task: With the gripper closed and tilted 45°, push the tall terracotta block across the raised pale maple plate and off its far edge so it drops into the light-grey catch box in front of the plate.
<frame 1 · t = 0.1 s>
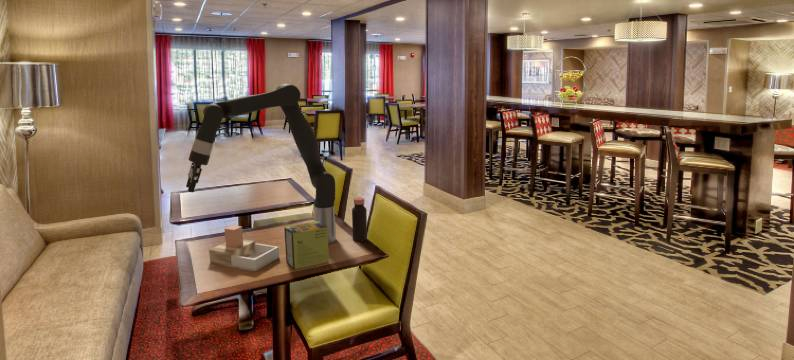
hand: (189, 189, 204), 31 cm above the table, tool tilted 20°, fingers open, 8 cm apart
catch box: (256, 262, 211), on the table
protein box: (307, 262, 212), on the table
bottle: (359, 239, 239), on the table
far plate: (233, 258, 216), on the table
block: (234, 245, 214), point 6 cm above the table, touching far plate
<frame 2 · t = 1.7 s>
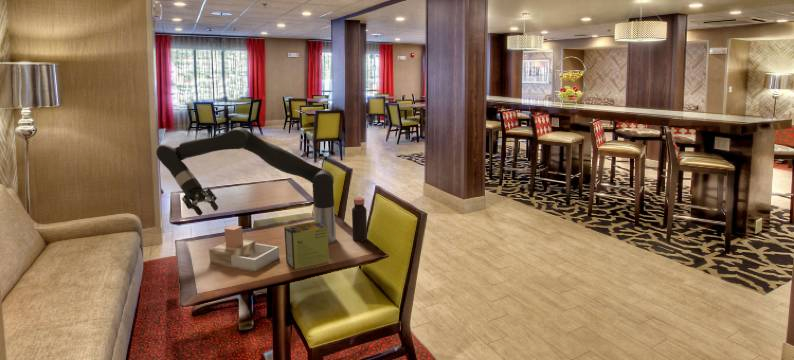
hand: (209, 212, 217), 19 cm above the table, tool tilted 45°, fingers open, 8 cm apart
nothing on the table moved.
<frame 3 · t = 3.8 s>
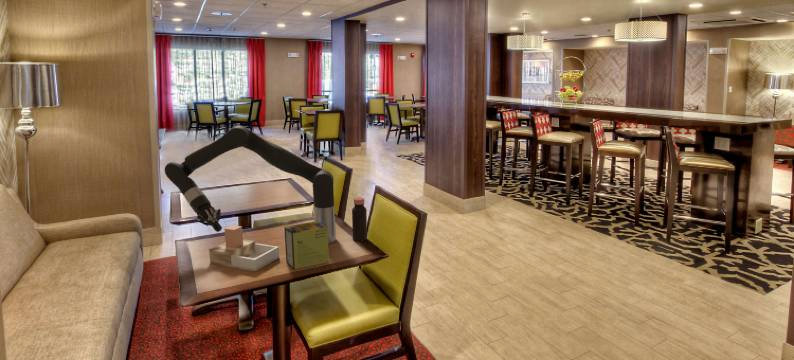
hand: (219, 230, 216), 11 cm above the table, tool tilted 45°, fingers closed
nothing on the table moved.
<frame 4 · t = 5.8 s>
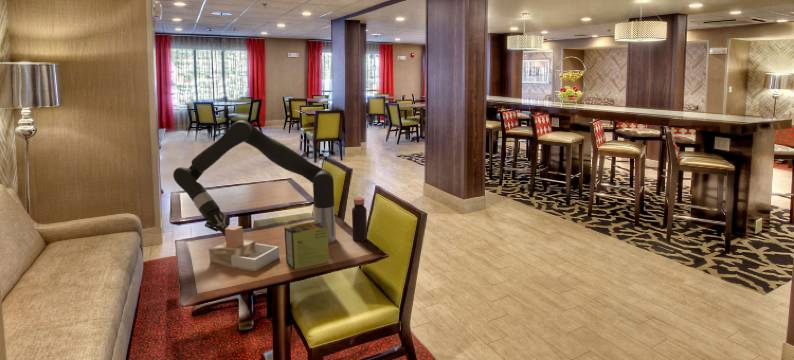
hand: (229, 236, 214), 10 cm above the table, tool tilted 45°, fingers closed
block: (235, 245, 214), point 6 cm above the table, touching gripper
everything else where it was.
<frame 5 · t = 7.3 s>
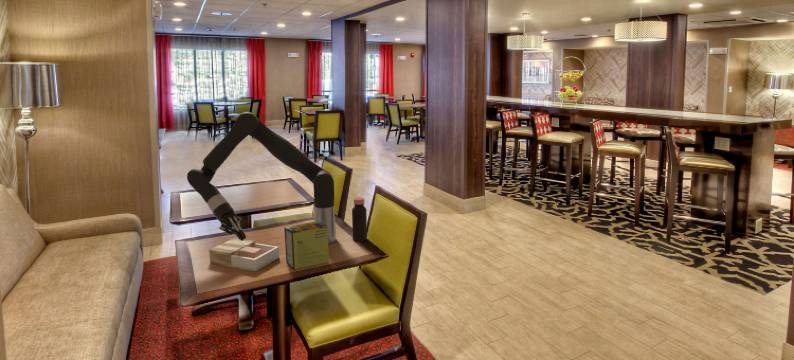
hand: (244, 239, 210), 10 cm above the table, tool tilted 45°, fingers closed
block: (242, 254, 212), point 3 cm above the table, tilted 90°, touching catch box
everything else where it was.
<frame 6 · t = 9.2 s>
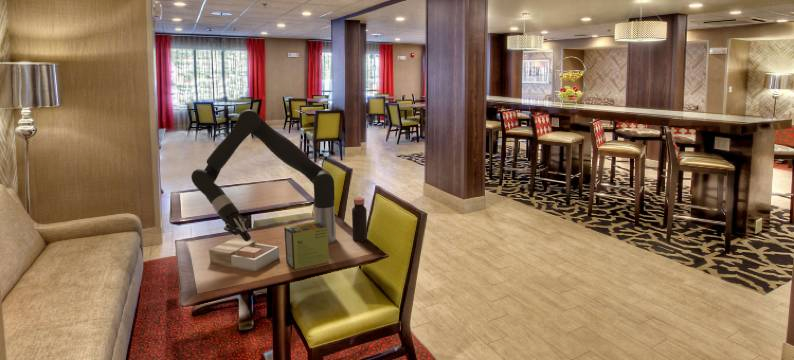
hand: (248, 240, 209), 10 cm above the table, tool tilted 45°, fingers closed
nothing on the table moved.
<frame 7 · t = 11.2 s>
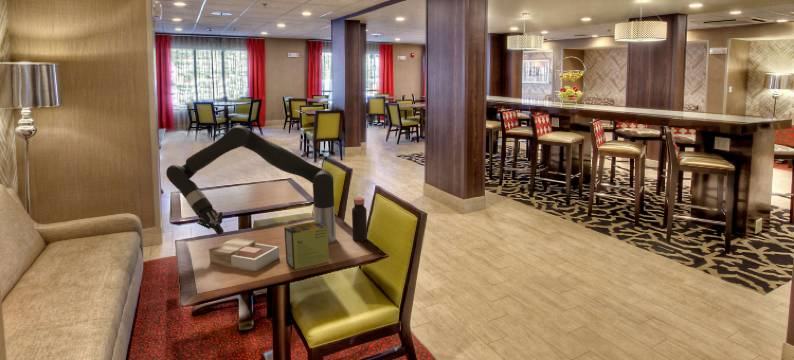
hand: (221, 233, 216), 10 cm above the table, tool tilted 45°, fingers closed
nothing on the table moved.
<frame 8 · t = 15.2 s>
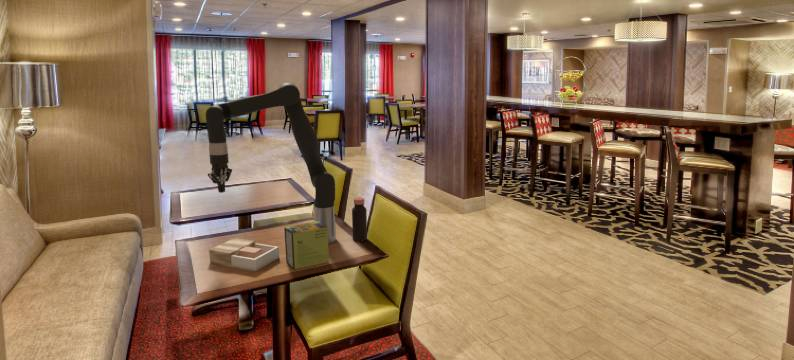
hand: (221, 192, 218), 27 cm above the table, tool pointing down, fingers closed
nothing on the table moved.
at the end: block inside the target area on the catch box (4.7 cm from its centre), point 3.3 cm above the catch box's base; block touching catch box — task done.
